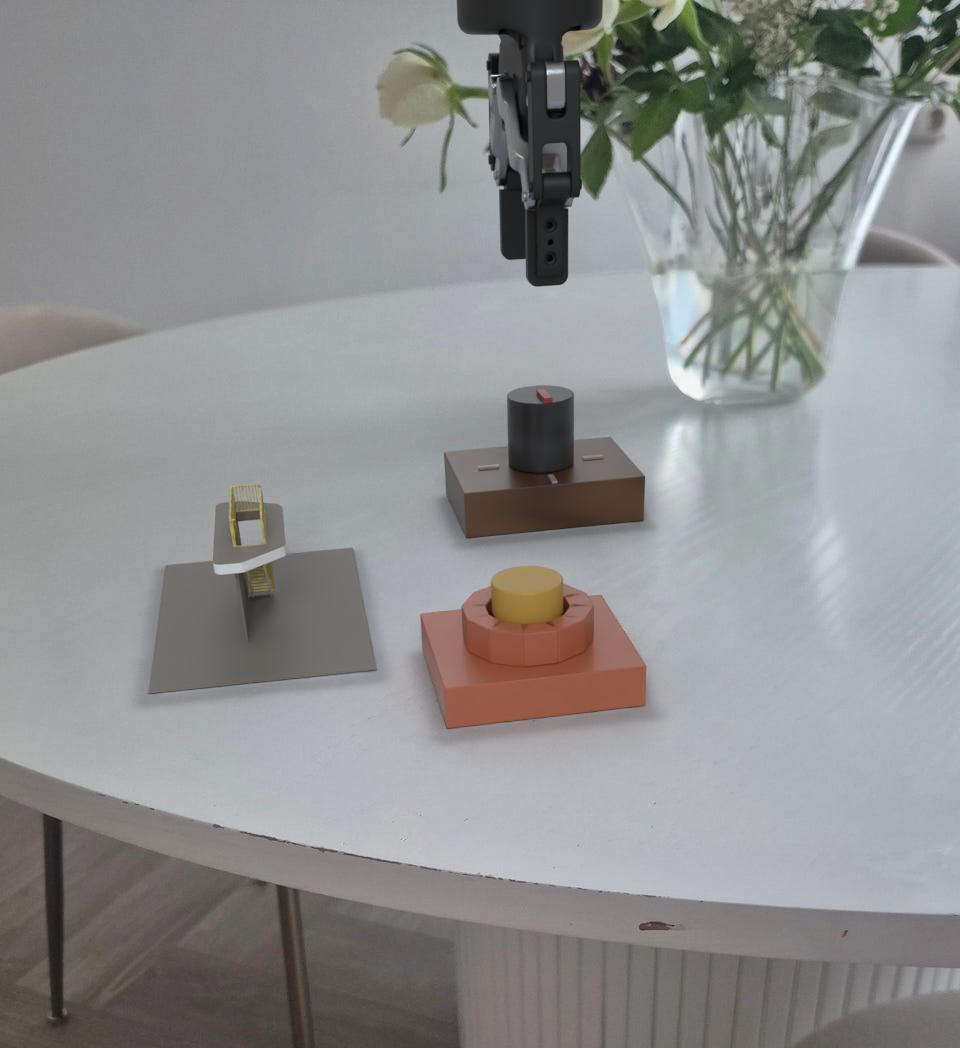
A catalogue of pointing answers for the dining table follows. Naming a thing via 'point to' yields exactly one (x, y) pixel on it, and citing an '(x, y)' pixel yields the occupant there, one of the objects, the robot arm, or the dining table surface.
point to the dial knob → (540, 428)
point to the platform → (259, 609)
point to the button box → (530, 662)
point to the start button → (527, 594)
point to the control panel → (543, 490)
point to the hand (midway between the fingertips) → (532, 270)
